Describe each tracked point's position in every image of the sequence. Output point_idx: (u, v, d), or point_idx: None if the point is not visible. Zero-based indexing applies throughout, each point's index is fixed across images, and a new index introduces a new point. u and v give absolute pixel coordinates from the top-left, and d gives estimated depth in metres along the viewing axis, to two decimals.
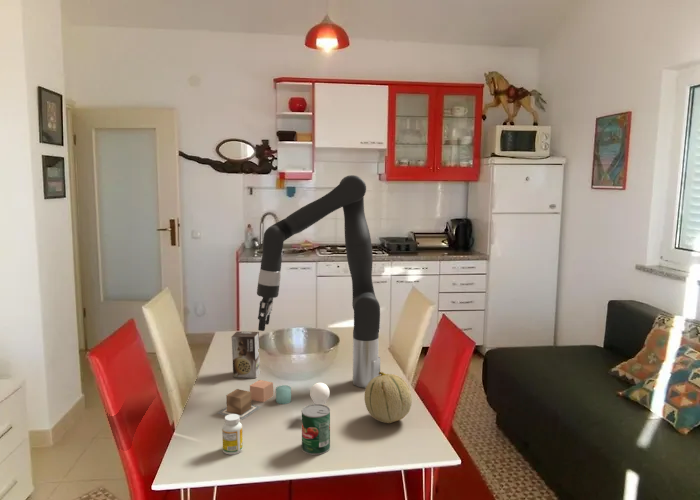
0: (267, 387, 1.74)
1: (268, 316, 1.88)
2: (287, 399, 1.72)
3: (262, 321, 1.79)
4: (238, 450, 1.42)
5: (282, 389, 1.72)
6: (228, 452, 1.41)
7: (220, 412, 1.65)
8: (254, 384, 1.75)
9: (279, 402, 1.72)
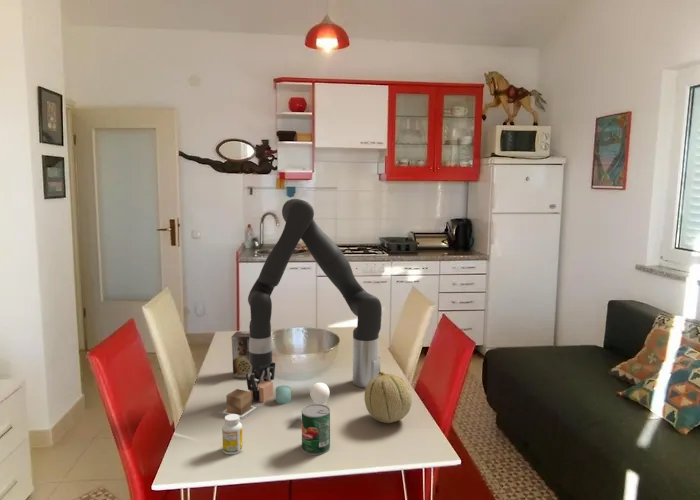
0: (267, 387, 1.74)
1: None
2: (287, 399, 1.72)
3: (254, 392, 1.72)
4: (238, 450, 1.42)
5: (282, 389, 1.72)
6: (228, 452, 1.41)
7: (220, 412, 1.65)
8: None
9: (279, 402, 1.72)
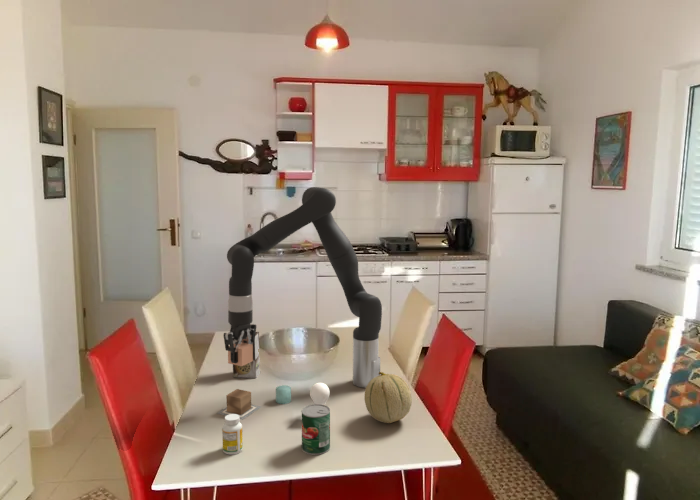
0: (246, 348, 1.65)
1: None
2: (287, 399, 1.72)
3: (232, 353, 1.63)
4: (238, 450, 1.42)
5: (282, 389, 1.72)
6: (228, 452, 1.41)
7: (220, 412, 1.65)
8: None
9: (279, 402, 1.72)
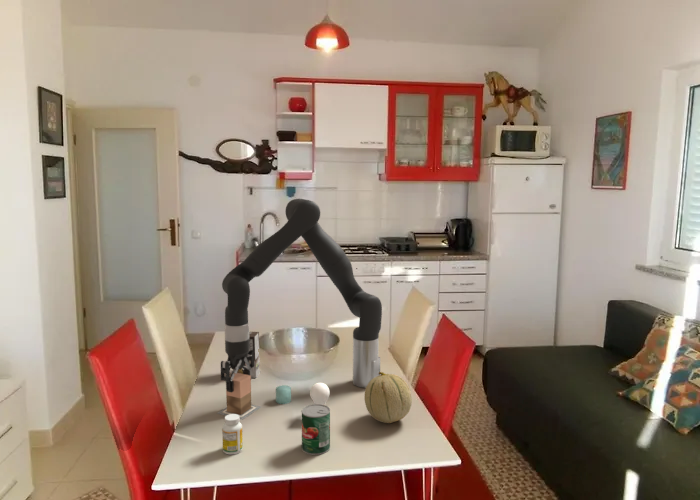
0: (244, 380, 1.64)
1: (247, 374, 1.69)
2: (287, 399, 1.72)
3: (228, 382, 1.61)
4: (238, 450, 1.42)
5: (282, 389, 1.72)
6: (228, 452, 1.41)
7: (220, 412, 1.65)
8: None
9: (279, 402, 1.72)
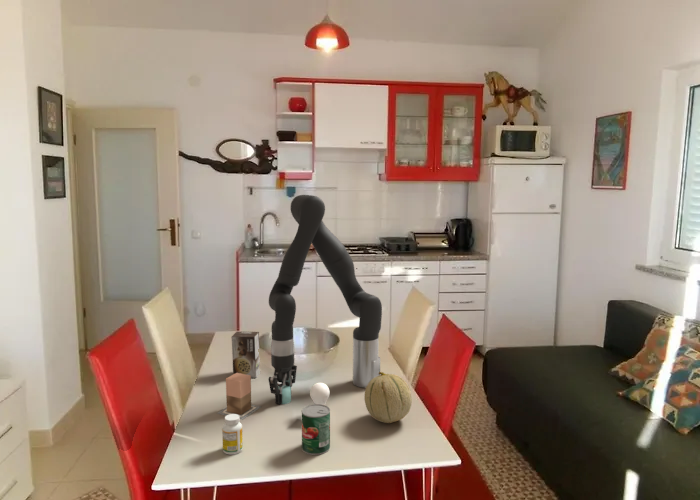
0: (244, 380, 1.64)
1: None
2: (287, 399, 1.72)
3: (277, 395, 1.70)
4: (238, 450, 1.42)
5: (282, 389, 1.72)
6: (228, 452, 1.41)
7: (220, 412, 1.65)
8: (230, 377, 1.65)
9: None
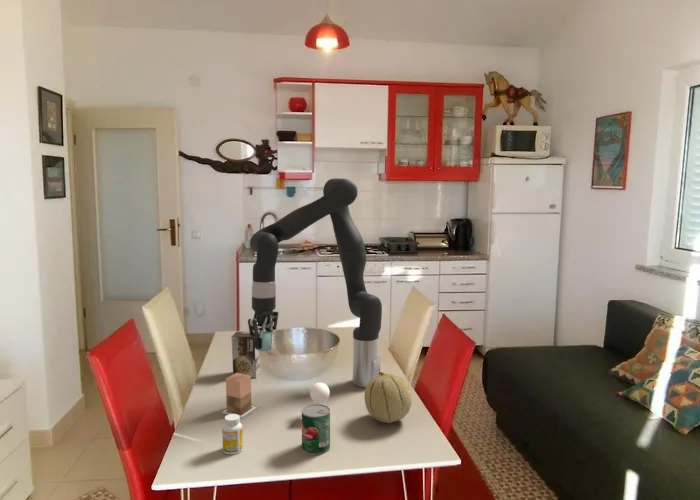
0: (244, 380, 1.64)
1: None
2: (267, 345, 1.66)
3: (257, 339, 1.64)
4: (238, 450, 1.42)
5: (262, 334, 1.67)
6: (228, 452, 1.41)
7: (220, 412, 1.65)
8: (230, 377, 1.65)
9: None
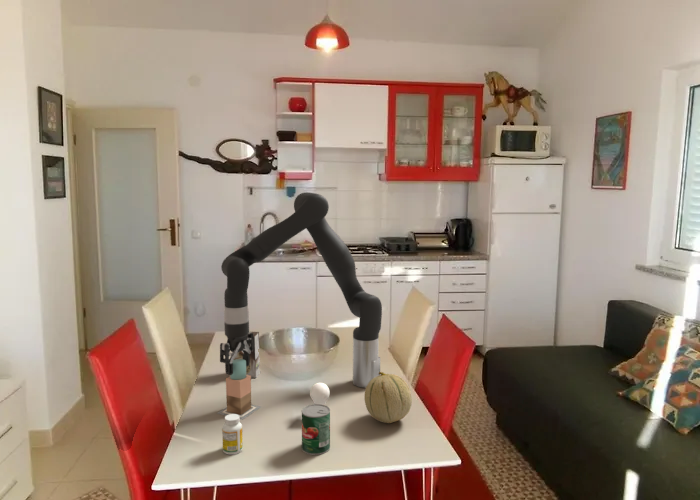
0: (244, 380, 1.64)
1: (247, 357, 1.68)
2: (241, 373, 1.63)
3: (227, 364, 1.60)
4: (238, 450, 1.42)
5: (236, 362, 1.64)
6: (228, 452, 1.41)
7: (220, 412, 1.65)
8: None
9: (233, 376, 1.63)
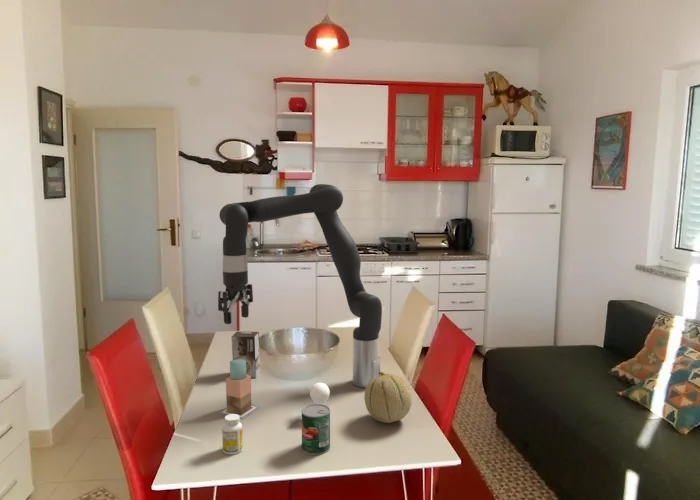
0: (244, 380, 1.64)
1: (245, 308, 1.66)
2: (241, 373, 1.63)
3: (226, 313, 1.58)
4: (238, 450, 1.42)
5: (236, 362, 1.64)
6: (228, 452, 1.41)
7: (220, 412, 1.65)
8: None
9: (233, 376, 1.63)
